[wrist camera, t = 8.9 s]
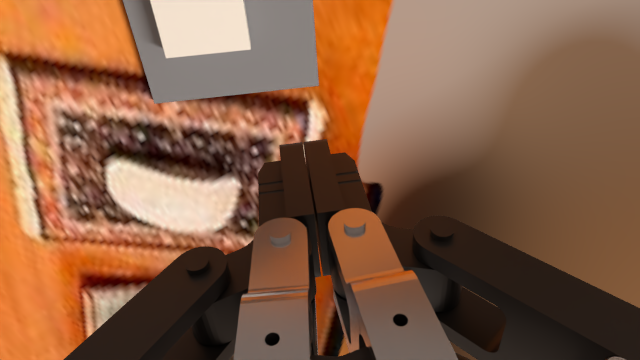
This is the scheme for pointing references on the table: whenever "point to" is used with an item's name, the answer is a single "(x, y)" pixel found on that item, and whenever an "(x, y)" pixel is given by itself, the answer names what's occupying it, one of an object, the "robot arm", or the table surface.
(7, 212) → the table surface
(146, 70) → the mat
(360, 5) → the table surface
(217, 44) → the tile
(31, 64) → the table surface
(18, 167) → the table surface
